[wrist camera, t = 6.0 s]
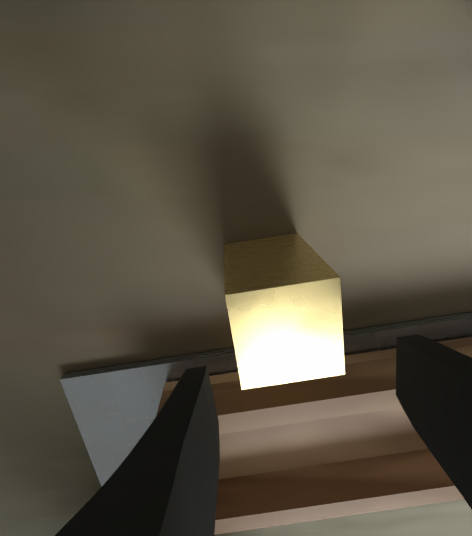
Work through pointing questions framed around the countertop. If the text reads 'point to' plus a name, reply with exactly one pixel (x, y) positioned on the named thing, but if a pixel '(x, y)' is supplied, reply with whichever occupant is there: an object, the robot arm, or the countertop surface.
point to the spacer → (283, 311)
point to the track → (171, 369)
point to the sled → (321, 447)
